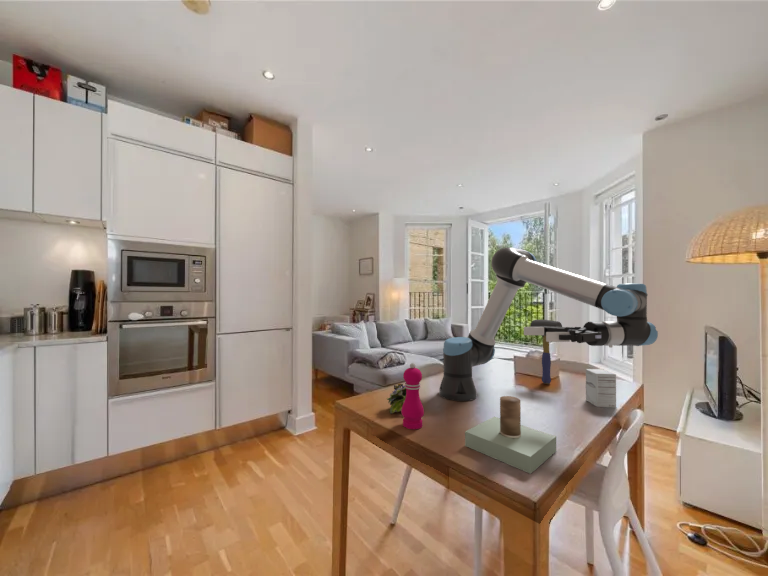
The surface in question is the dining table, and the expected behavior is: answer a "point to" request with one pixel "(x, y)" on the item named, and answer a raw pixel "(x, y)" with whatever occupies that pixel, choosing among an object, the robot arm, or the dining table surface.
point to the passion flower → (397, 398)
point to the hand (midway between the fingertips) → (534, 333)
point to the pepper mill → (412, 399)
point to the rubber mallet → (546, 348)
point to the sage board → (511, 445)
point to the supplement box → (601, 387)
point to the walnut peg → (510, 417)
